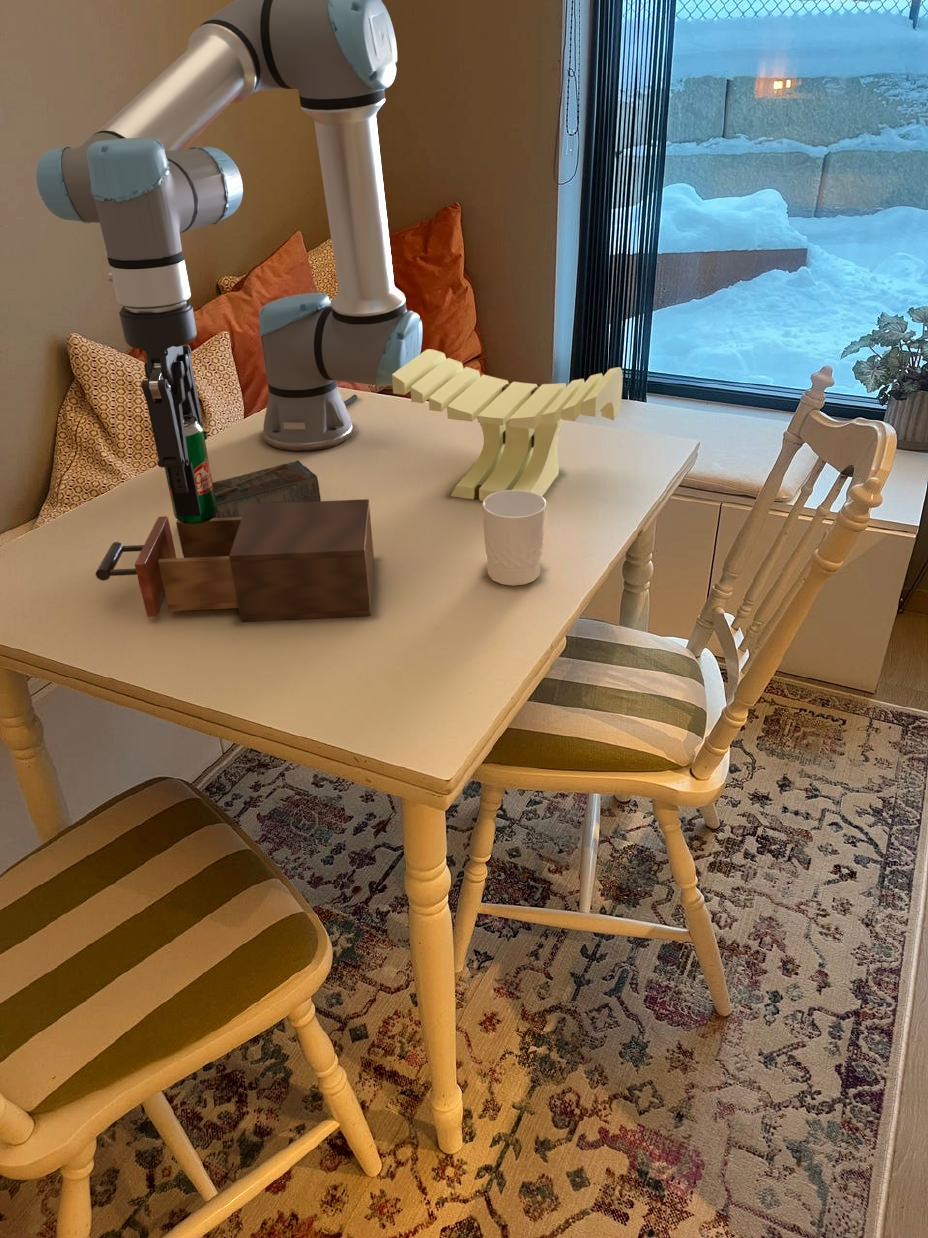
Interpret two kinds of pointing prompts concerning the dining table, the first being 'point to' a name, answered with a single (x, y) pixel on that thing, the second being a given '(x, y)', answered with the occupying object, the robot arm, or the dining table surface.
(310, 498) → the beverage carton
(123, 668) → the dining table surface
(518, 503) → the white cup
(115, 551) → the drawer
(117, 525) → the dining table surface
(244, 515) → the cabinet
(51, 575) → the dining table surface
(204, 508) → the soda can
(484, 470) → the slatted curved stool
